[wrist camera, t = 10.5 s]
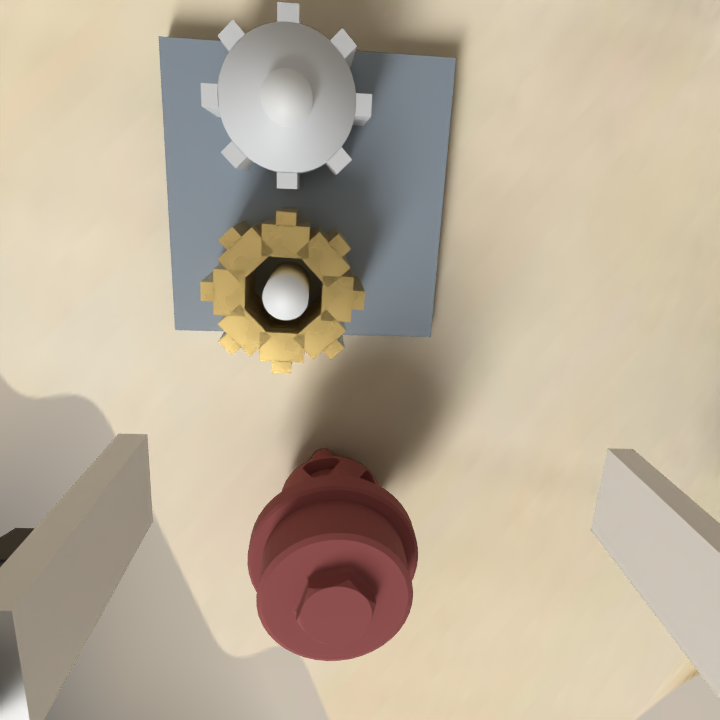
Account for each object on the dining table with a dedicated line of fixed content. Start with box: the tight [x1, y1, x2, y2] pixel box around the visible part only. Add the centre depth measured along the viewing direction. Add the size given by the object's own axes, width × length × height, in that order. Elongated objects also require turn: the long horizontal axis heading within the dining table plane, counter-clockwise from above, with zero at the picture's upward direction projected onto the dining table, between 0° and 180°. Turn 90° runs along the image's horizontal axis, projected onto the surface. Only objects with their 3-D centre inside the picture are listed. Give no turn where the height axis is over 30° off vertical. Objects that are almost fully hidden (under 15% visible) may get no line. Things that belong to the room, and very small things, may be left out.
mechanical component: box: [248, 449, 418, 661], centre depth 34 cm, size 12×10×10 cm
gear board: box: [159, 2, 456, 337], centre depth 30 cm, size 16×17×7 cm
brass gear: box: [200, 207, 365, 373], centre depth 31 cm, size 8×8×5 cm
